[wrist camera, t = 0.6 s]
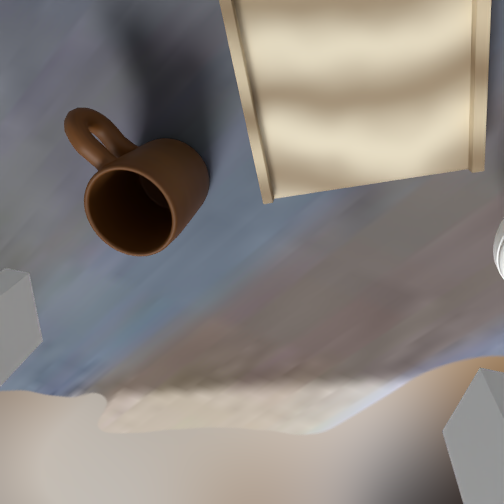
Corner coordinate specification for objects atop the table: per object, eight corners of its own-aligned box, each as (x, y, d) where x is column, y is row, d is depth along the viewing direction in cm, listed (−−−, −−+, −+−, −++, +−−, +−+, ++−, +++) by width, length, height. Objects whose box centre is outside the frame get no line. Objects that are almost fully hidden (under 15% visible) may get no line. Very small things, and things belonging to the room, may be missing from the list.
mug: (89, 121, 36) (18, 143, 28) (149, 73, 33) (90, 82, 25) (167, 226, 40) (125, 273, 31) (227, 191, 37) (198, 233, 28)
